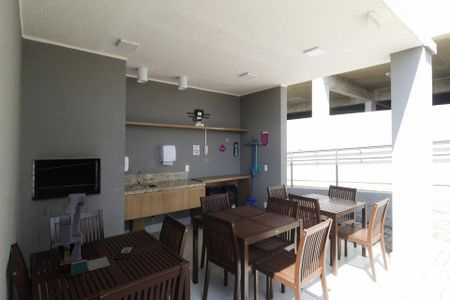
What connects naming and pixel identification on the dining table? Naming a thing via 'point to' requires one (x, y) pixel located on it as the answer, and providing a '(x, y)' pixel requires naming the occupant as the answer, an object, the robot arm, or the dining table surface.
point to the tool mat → (97, 263)
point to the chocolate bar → (124, 253)
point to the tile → (78, 267)
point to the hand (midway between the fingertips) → (66, 256)
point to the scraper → (66, 257)
